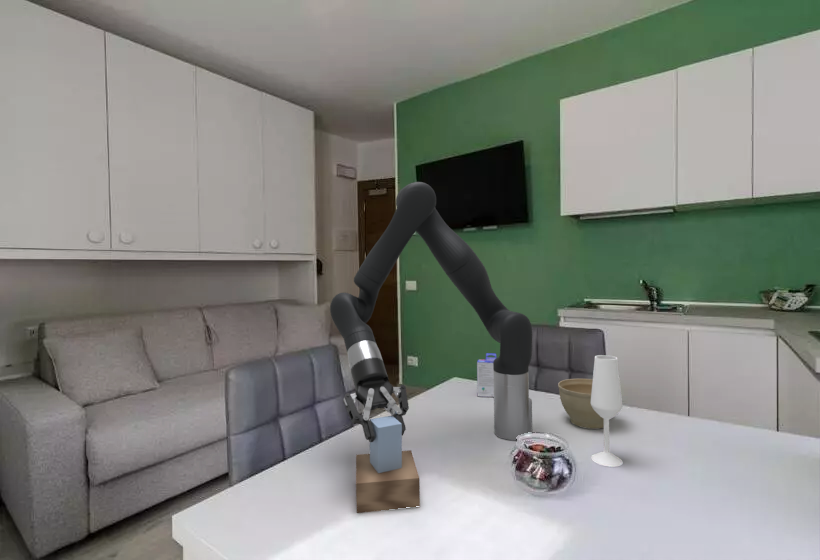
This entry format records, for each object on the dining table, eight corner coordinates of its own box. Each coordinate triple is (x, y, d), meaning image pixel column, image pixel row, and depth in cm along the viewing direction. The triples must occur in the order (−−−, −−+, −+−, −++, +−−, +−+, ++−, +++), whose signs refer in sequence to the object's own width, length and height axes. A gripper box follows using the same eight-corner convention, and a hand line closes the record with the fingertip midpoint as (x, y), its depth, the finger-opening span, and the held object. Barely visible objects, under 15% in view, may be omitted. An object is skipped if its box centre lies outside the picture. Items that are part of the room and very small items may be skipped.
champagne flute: (626, 459, 96) (626, 356, 96) (617, 469, 92) (617, 362, 91) (596, 450, 101) (596, 353, 100) (586, 460, 96) (585, 358, 95)
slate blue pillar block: (392, 457, 88) (392, 415, 87) (401, 467, 83) (401, 423, 83) (369, 462, 86) (369, 419, 85) (378, 473, 81) (378, 427, 81)
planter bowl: (622, 419, 121) (622, 382, 121) (616, 439, 107) (616, 397, 107) (565, 409, 130) (564, 375, 129) (552, 427, 116) (552, 389, 116)
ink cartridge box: (506, 393, 147) (505, 352, 147) (506, 398, 142) (505, 356, 142) (477, 392, 149) (477, 352, 149) (477, 396, 144) (476, 355, 144)
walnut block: (411, 477, 91) (411, 450, 91) (420, 508, 79) (419, 478, 79) (356, 481, 90) (356, 454, 89) (356, 515, 78) (355, 483, 77)
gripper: (338, 360, 88) (356, 436, 77) (400, 352, 94) (425, 422, 83) (332, 378, 93) (349, 452, 82) (392, 370, 99) (414, 438, 88)
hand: (387, 437), depth 83 cm, fingers open, 5 cm apart
